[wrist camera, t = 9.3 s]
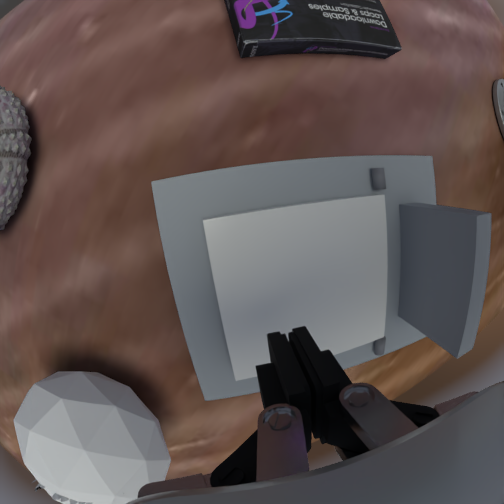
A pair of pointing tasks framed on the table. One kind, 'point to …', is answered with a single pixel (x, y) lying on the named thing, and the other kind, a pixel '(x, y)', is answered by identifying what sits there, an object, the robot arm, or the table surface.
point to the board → (318, 189)
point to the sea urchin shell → (12, 153)
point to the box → (312, 27)
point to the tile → (300, 275)
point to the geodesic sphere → (89, 439)
